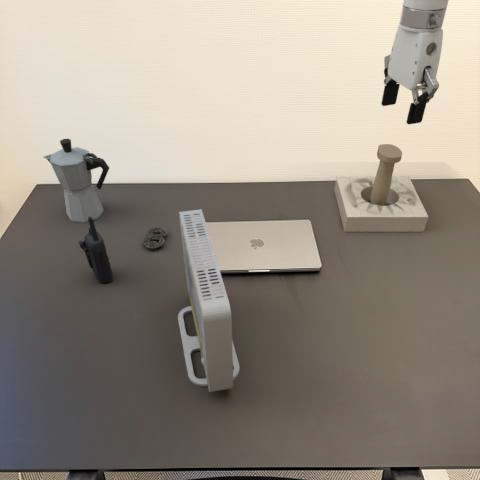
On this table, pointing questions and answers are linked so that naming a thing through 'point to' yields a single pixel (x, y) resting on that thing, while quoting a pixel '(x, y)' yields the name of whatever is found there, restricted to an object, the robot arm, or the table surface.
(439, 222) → the table surface
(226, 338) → the network device
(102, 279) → the two-way radio
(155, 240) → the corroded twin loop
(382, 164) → the handle
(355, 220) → the square block with hole
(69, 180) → the coffee maker
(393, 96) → the robot arm
